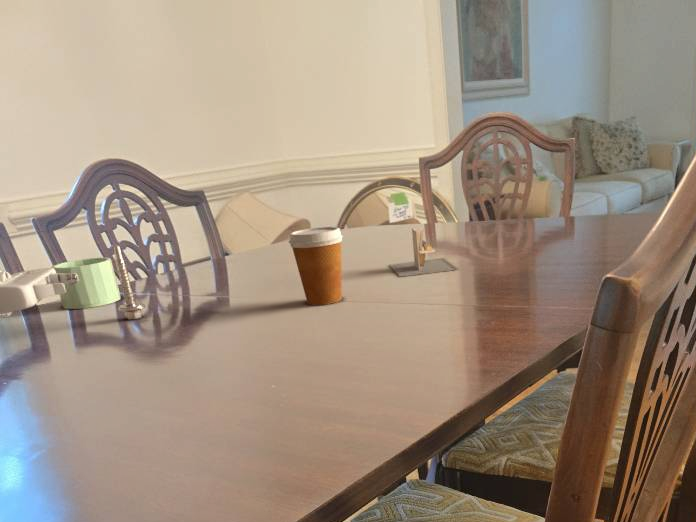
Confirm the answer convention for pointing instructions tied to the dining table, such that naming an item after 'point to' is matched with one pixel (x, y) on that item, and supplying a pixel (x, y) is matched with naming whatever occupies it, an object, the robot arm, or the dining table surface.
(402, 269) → the architectural model
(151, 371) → the dining table surface
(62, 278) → the robot arm
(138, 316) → the screw
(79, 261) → the green cup
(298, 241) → the disposable coffee cup
